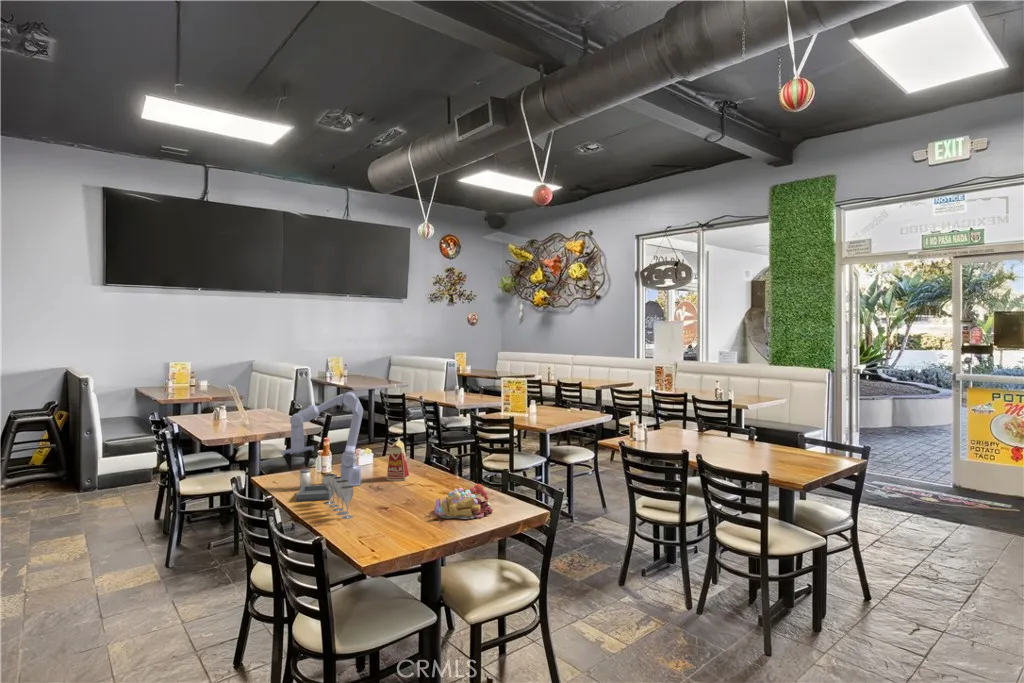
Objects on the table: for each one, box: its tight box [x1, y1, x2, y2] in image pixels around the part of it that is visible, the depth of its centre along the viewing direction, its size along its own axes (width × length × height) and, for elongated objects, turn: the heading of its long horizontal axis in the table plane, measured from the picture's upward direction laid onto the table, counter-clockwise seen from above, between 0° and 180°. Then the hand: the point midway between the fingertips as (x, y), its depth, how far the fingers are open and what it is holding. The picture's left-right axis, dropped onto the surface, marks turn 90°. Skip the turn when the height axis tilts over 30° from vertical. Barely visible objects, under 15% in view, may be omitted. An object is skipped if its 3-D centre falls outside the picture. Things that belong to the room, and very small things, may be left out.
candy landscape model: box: [434, 483, 494, 520], centre depth 222 cm, size 25×24×9 cm
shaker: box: [299, 468, 312, 490], centre depth 254 cm, size 5×5×9 cm
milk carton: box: [386, 437, 410, 482], centre depth 271 cm, size 9×9×20 cm
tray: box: [295, 484, 333, 503], centre depth 242 cm, size 14×14×3 cm
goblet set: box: [321, 473, 354, 520], centre depth 224 cm, size 28×6×13 cm, turn 36°
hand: (298, 468), depth 255 cm, fingers open, 7 cm apart
